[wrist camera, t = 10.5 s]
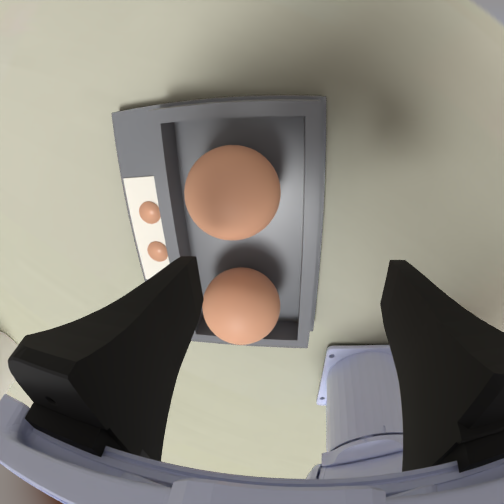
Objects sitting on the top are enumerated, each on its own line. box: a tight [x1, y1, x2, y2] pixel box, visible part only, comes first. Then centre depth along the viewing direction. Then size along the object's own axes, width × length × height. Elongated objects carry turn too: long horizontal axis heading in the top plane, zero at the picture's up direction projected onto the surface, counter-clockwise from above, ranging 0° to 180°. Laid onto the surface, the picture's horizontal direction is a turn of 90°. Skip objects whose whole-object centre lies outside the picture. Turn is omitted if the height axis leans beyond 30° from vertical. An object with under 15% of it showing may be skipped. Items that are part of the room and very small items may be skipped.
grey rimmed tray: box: [112, 95, 326, 348], centre depth 20 cm, size 17×13×3 cm
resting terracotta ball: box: [202, 267, 280, 345], centre depth 20 cm, size 5×5×5 cm
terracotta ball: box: [184, 145, 281, 241], centre depth 16 cm, size 5×5×5 cm
